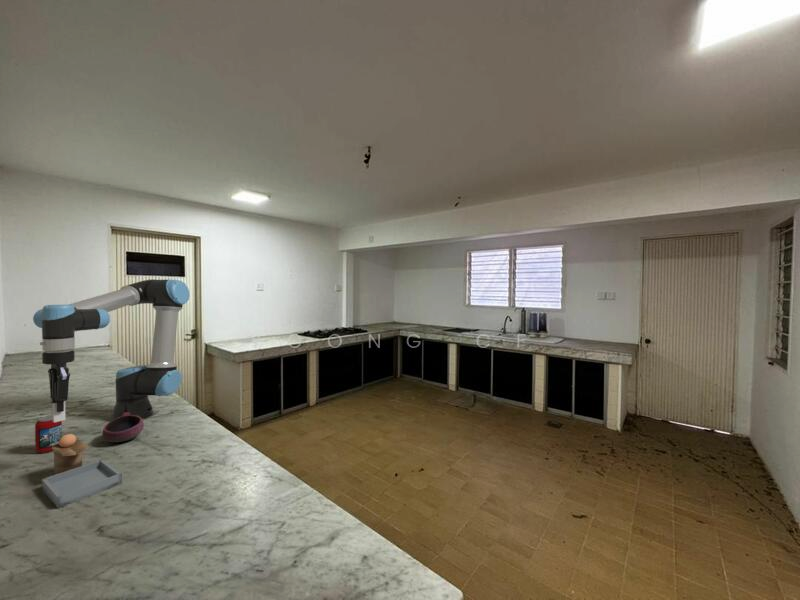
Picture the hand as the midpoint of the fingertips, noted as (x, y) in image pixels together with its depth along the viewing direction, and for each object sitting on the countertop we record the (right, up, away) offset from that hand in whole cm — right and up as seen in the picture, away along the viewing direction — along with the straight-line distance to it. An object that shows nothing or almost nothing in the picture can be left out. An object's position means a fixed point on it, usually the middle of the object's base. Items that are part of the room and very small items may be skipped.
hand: (59, 420), depth 111 cm
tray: (+18, -16, -11) cm, 26 cm away
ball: (+7, -5, -4) cm, 9 cm away
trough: (+9, -16, -5) cm, 19 cm away
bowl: (+3, -15, +21) cm, 26 cm away
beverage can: (-15, -15, +11) cm, 24 cm away
